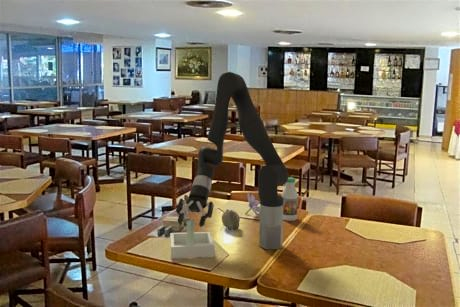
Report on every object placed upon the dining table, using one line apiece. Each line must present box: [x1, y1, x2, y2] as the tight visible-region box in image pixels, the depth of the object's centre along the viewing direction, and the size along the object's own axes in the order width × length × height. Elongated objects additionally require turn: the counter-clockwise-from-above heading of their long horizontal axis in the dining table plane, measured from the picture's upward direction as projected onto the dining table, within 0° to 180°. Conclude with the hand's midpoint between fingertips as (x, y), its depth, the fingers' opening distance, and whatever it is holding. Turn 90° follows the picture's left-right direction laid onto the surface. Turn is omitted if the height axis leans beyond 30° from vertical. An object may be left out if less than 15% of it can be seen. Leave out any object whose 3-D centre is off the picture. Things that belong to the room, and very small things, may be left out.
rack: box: [146, 215, 192, 239], centre depth 207 cm, size 20×12×4 cm, turn 163°
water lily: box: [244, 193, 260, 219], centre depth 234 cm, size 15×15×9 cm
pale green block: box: [186, 218, 195, 245], centre depth 184 cm, size 4×2×11 cm, turn 163°
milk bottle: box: [281, 176, 299, 222], centre depth 227 cm, size 8×8×20 cm
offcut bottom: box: [160, 222, 184, 231], centre depth 209 cm, size 6×8×2 cm
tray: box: [169, 231, 215, 260], centre depth 185 cm, size 16×16×4 cm
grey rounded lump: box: [221, 209, 241, 231], centre depth 211 cm, size 9×8×10 cm
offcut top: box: [162, 216, 180, 226], centre depth 209 cm, size 6×7×2 cm
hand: (190, 224), depth 182 cm, fingers open, 8 cm apart
